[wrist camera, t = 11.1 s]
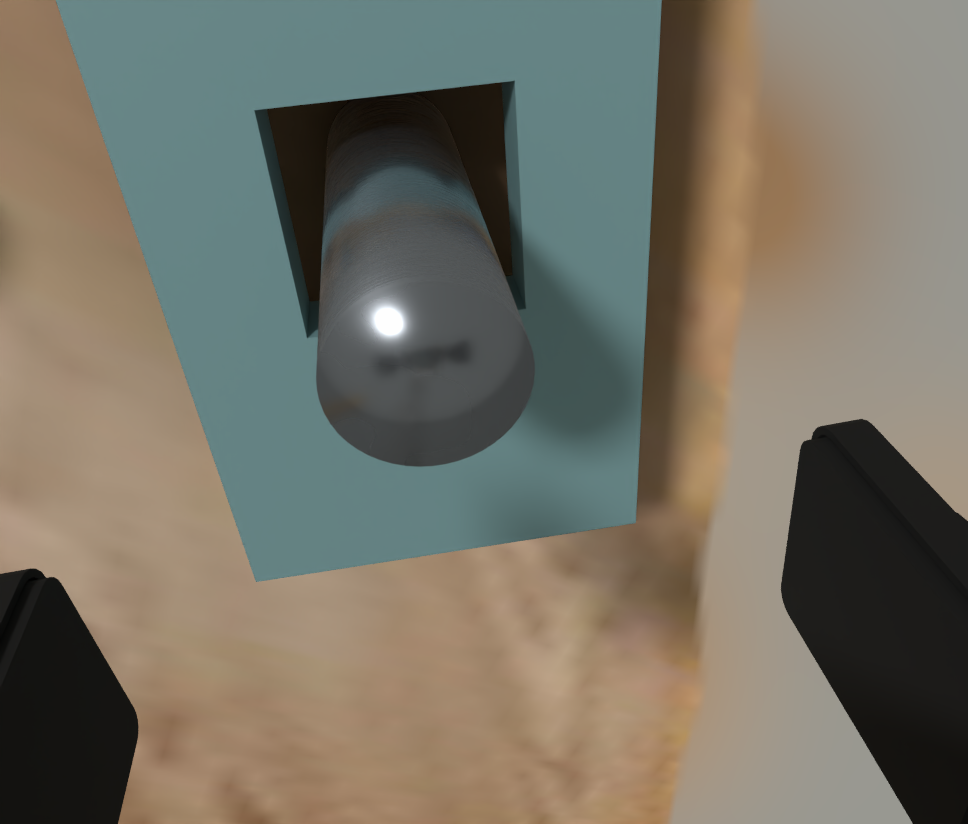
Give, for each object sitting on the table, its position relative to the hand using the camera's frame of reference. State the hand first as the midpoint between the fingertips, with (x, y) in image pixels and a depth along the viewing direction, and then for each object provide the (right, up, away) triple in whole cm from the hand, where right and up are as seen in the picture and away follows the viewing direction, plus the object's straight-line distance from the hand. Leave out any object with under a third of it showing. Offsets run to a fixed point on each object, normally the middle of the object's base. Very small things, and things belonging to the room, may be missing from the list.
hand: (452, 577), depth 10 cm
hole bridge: (-2, +9, +13) cm, 16 cm away
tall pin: (-2, +9, +13) cm, 16 cm away
